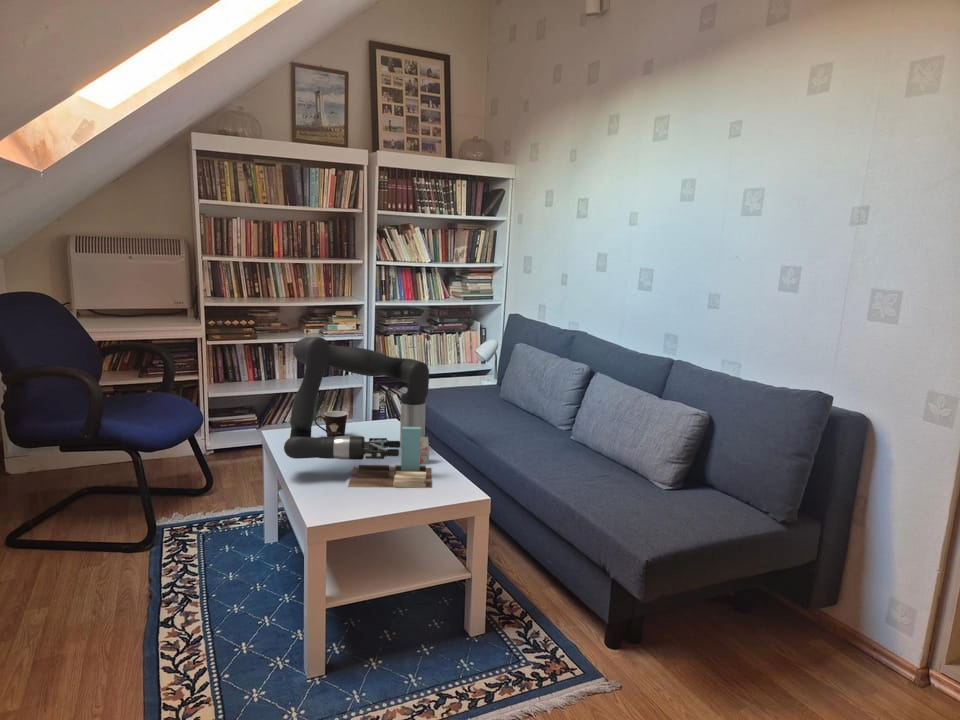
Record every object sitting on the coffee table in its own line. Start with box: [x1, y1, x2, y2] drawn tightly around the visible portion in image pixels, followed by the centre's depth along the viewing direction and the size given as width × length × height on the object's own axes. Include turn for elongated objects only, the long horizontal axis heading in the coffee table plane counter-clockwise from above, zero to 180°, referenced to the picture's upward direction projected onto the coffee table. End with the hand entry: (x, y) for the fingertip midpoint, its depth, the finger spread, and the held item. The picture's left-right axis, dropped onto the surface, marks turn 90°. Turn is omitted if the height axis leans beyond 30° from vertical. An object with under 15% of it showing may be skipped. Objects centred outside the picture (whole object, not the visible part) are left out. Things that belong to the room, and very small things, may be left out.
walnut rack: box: [347, 464, 433, 489], centre depth 205 cm, size 18×26×3 cm
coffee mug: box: [314, 410, 348, 437], centre depth 245 cm, size 12×9×10 cm
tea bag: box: [420, 436, 430, 465], centre depth 219 cm, size 4×7×10 cm, turn 115°
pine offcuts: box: [392, 471, 426, 488], centre depth 199 cm, size 6×10×3 cm, turn 95°
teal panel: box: [400, 427, 421, 471], centre depth 206 cm, size 2×6×16 cm, turn 95°
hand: (399, 448), depth 205 cm, fingers open, 8 cm apart
